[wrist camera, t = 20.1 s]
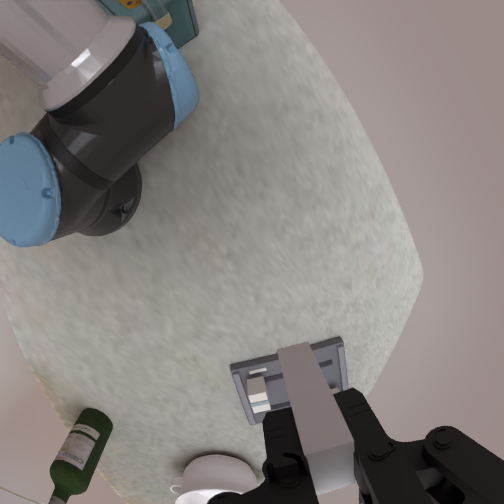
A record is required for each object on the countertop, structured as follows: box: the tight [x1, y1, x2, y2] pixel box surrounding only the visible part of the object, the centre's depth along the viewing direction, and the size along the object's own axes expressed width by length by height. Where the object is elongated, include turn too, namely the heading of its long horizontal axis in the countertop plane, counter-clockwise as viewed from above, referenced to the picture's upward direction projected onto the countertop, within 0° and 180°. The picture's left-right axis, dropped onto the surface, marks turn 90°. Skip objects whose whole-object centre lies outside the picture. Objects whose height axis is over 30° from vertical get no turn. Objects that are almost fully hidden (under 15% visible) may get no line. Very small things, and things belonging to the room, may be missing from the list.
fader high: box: [247, 376, 271, 413], centre depth 47 cm, size 3×4×6 cm
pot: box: [170, 454, 261, 504], centre depth 52 cm, size 22×17×12 cm
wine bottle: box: [49, 409, 113, 504], centre depth 39 cm, size 8×8×30 cm
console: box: [231, 337, 348, 426], centre depth 52 cm, size 20×14×3 cm
